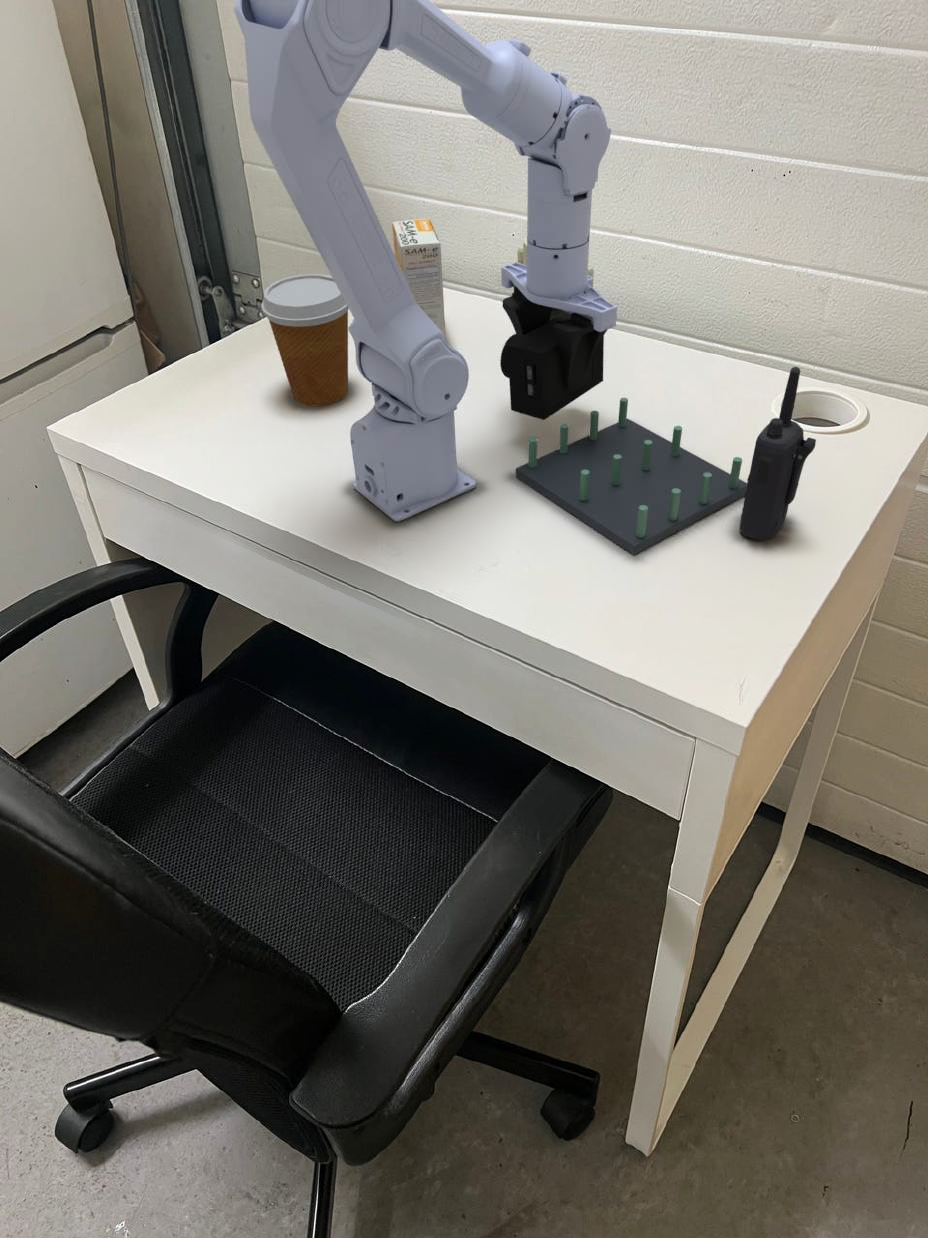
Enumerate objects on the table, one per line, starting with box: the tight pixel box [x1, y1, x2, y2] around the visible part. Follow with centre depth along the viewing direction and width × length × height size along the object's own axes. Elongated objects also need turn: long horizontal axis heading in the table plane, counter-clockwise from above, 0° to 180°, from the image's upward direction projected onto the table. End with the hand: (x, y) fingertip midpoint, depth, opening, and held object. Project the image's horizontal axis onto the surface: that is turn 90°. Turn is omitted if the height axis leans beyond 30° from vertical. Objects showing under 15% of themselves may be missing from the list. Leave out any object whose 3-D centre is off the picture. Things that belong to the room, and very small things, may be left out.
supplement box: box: [391, 217, 447, 341], centre depth 112 cm, size 8×5×13 cm, turn 10°
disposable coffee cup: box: [260, 273, 349, 407], centre depth 102 cm, size 10×10×12 cm
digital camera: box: [499, 312, 605, 421], centre depth 94 cm, size 10×5×7 cm, turn 140°
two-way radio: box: [739, 366, 817, 540], centre depth 79 cm, size 6×4×15 cm
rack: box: [515, 397, 748, 556], centre depth 89 cm, size 15×16×4 cm
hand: (553, 375), depth 94 cm, fingers closed on digital camera, 5 cm apart
